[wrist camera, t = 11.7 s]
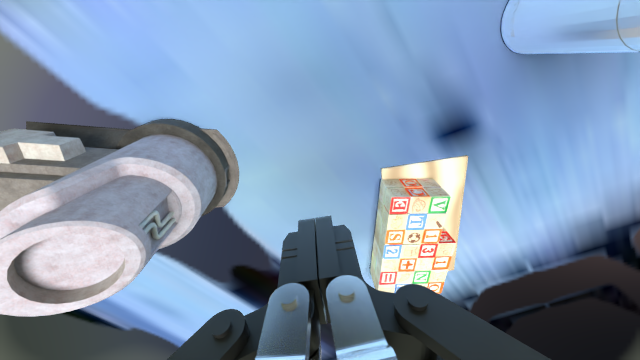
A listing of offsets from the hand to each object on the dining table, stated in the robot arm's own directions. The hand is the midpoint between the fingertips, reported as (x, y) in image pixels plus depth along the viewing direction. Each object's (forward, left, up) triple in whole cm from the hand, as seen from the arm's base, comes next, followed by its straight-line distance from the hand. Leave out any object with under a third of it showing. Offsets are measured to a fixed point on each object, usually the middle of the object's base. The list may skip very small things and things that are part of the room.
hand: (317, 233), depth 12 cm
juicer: (+28, +4, -29) cm, 40 cm away
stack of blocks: (-8, +23, -26) cm, 36 cm away
